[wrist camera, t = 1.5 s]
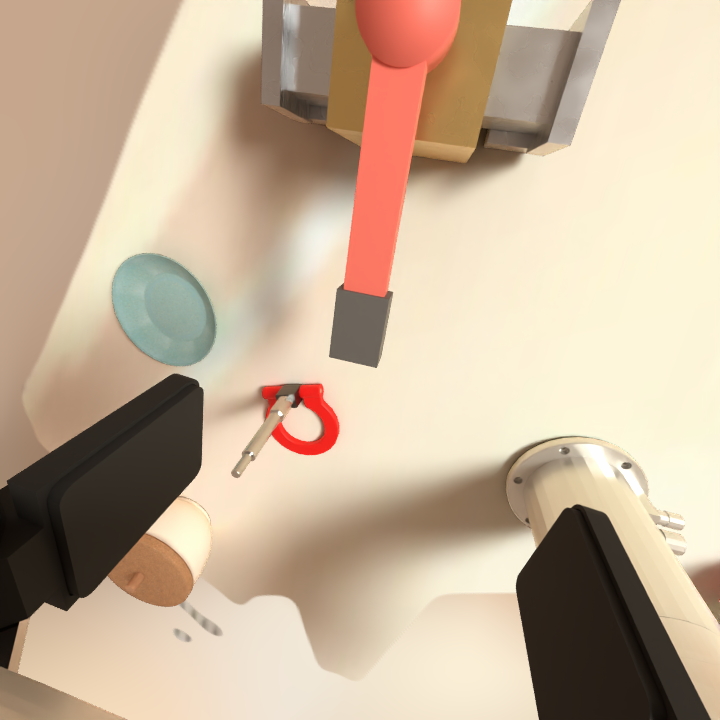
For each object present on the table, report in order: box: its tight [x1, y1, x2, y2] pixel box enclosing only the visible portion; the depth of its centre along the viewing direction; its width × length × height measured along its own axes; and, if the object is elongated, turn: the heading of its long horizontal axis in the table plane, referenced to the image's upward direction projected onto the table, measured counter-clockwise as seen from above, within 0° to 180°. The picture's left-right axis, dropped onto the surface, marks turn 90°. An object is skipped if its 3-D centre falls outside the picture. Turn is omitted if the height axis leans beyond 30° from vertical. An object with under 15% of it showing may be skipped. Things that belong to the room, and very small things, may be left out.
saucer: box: [112, 253, 217, 366], centre depth 37 cm, size 12×12×2 cm
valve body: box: [261, 0, 621, 163], centre depth 20 cm, size 18×8×14 cm, turn 82°
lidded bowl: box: [107, 497, 212, 607], centre depth 47 cm, size 13×13×11 cm
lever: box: [329, 0, 461, 368], centre depth 17 cm, size 18×4×2 cm, turn 172°
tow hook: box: [231, 384, 339, 478], centre depth 35 cm, size 8×13×9 cm
